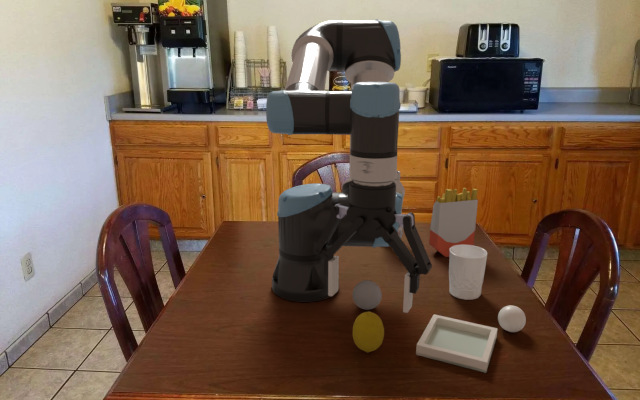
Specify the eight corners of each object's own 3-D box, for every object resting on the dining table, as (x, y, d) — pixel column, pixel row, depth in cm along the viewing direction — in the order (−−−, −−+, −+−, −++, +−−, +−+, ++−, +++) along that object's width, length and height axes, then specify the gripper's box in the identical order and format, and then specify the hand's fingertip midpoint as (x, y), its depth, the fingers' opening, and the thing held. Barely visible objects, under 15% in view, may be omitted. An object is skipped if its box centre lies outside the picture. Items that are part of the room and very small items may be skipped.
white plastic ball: (494, 333, 97) (497, 309, 96) (498, 321, 101) (501, 298, 100) (522, 339, 95) (526, 315, 94) (525, 327, 99) (528, 304, 98)
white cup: (484, 303, 109) (489, 259, 106) (446, 299, 110) (450, 256, 107) (481, 286, 116) (485, 245, 113) (445, 283, 118) (448, 243, 115)
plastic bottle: (374, 238, 145) (376, 170, 140) (396, 235, 147) (399, 168, 142) (384, 246, 140) (386, 175, 134) (406, 243, 142) (410, 173, 136)
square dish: (415, 354, 90) (416, 344, 90) (433, 323, 101) (433, 314, 100) (486, 373, 85) (487, 362, 85) (496, 337, 96) (497, 328, 95)
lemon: (380, 343, 94) (382, 304, 92) (385, 360, 89) (387, 319, 86) (350, 343, 94) (351, 304, 91) (353, 361, 88) (354, 320, 86)
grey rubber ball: (347, 311, 105) (348, 284, 104) (358, 298, 110) (359, 273, 109) (375, 317, 103) (376, 290, 101) (385, 304, 108) (386, 278, 106)
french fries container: (427, 251, 136) (432, 186, 131) (463, 247, 139) (469, 183, 134) (436, 258, 132) (441, 191, 127) (473, 253, 135) (479, 187, 130)
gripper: (293, 177, 84) (295, 295, 90) (445, 195, 74) (435, 327, 79) (314, 168, 91) (314, 279, 96) (456, 183, 80) (446, 306, 86)
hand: (369, 301), depth 88 cm, fingers open, 13 cm apart
